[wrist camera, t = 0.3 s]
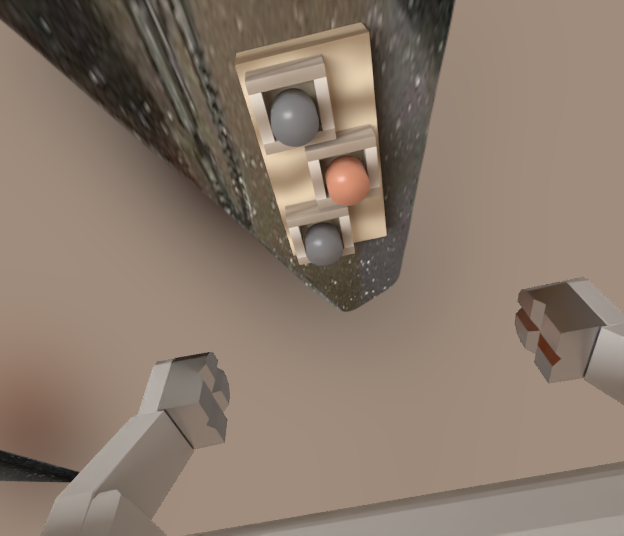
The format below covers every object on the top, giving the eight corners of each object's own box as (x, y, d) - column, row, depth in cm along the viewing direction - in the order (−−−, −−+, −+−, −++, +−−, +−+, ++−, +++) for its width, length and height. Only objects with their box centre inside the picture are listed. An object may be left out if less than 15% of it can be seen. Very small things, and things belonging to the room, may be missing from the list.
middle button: (321, 160, 43) (325, 174, 41) (362, 151, 42) (367, 165, 40) (328, 194, 46) (332, 209, 44) (366, 186, 45) (371, 200, 43)
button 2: (301, 226, 48) (303, 242, 46) (336, 218, 48) (340, 234, 46) (308, 253, 51) (310, 269, 49) (341, 246, 51) (345, 261, 49)
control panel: (236, 53, 41) (233, 75, 36) (361, 22, 40) (375, 40, 35) (291, 237, 58) (295, 270, 53) (380, 218, 57) (392, 250, 52)
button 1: (265, 94, 38) (265, 106, 35) (310, 83, 37) (314, 94, 35) (276, 137, 40) (277, 151, 38) (319, 127, 40) (322, 141, 38)
